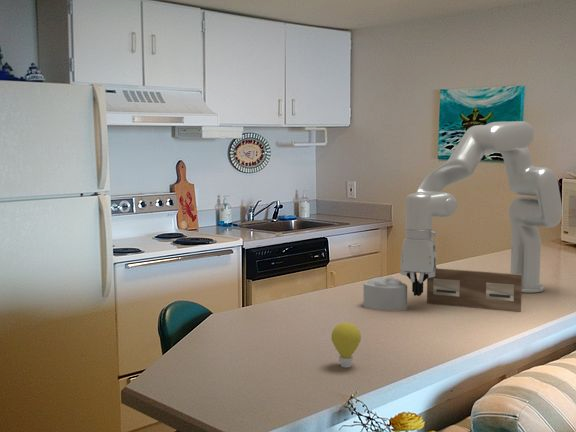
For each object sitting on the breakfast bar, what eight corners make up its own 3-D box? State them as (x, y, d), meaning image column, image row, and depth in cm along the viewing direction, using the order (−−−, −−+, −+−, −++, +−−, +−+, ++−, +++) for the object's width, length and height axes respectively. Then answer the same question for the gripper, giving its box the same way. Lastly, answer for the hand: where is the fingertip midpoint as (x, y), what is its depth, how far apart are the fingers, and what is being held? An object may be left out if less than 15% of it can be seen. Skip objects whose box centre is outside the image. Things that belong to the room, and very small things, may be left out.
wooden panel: (427, 302, 219) (428, 267, 218) (520, 310, 207) (521, 274, 206) (426, 303, 217) (427, 268, 216) (520, 311, 206) (521, 275, 205)
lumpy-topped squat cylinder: (374, 300, 222) (374, 274, 221) (412, 305, 215) (413, 278, 214) (359, 307, 213) (360, 279, 212) (399, 312, 206) (399, 284, 205)
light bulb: (329, 361, 161) (329, 319, 160) (357, 360, 161) (358, 318, 160) (333, 371, 154) (333, 327, 153) (363, 370, 155) (363, 326, 154)
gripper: (446, 234, 207) (445, 294, 209) (397, 231, 213) (397, 290, 215) (440, 237, 200) (439, 299, 202) (390, 235, 207) (390, 295, 209)
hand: (417, 294), depth 209 cm, fingers closed
